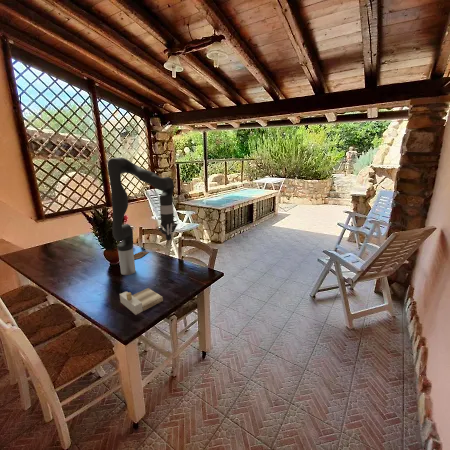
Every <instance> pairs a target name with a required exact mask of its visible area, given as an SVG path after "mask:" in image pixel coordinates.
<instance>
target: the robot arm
mask: <svg viewBox="0 0 450 450" xmlns="http://www.w3.org/2000/svg"><path fill="white" fill-rule="evenodd" d="M107 172H108V177H109V183H110V193H111V207H112V227H111V228H112V236H113V239H114V240H115V241H117V242H119V244H117V253H118V258H119V259H118V260H119V261H118V262H119V263H120V264H119V266H120V274H121V275H123V276H131V275H133V274H135V273H136V264H135V263H136V262H135V259H134V255H135V253H134V234H133V228H132V226H131V225H130V224H128V223H124V224H123V219H124V216H125V215H126V212H127V210H128V207H129V196H128V193H127V191H126V190H125V188H124V186H123V184H122V183H123V182H122V177H121V176H122V175H121V174H125V173H126V174H129V175H132V176H135V178H137V179H139V180H140V181H141V182H143V183H145V184H148V185H151V186H152V187H153V188H155V189H157V190H158V191H162V193H161V194H160V196H159V205H160V206H159V213H160V220H161V221H160V225H159V226H158V227H157V229H158V230H159V232H161V234H163V235H165V239H166V240H167V241H171V239H172V234H173V233H174V232H175V230H176V229H177V227H178V223H177V222H175V216H174V215H175V214H174V205H173V204H174V202H173V196H174V195H173V194H174V190H175V183H174V180H173V179H172V177H169V176H165V177H160V176H159V175H158V174H157V173H155V172H154V171H152V170H151V171H150V170H148V169H146V168H143V167H141V166H139V165H137V164H135V163H134V162H131V161H130V160H129V159H127V158H125V157H111V158H110V159H108V161H107ZM120 241H121V242H120Z"/></svg>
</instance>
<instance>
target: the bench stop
mask: <svg viewBox="0 0 450 450" xmlns="http://www.w3.org/2000/svg"><path fill="white" fill-rule="evenodd" d="M132 295H133V294H132V292H128V291H124V292H122V293H119V299H120V300H119V301H120V303H121V304H122V305H123V306H124V307H125V308H127V309H128V310H129V311H130V312H131V313H133V314H134V315H135V316H137V315H139V314H140V313H143V312H144V311H143V308H142V302H140V301H139V300H138V299H136V298H135V297H134V296H132Z"/></svg>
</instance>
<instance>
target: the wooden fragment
mask: <svg viewBox="0 0 450 450" xmlns="http://www.w3.org/2000/svg"><path fill="white" fill-rule="evenodd" d="M147 254H149V251H139V252H137V253H134V260H137V259H142V258H143V257H144V256H146V255H147ZM119 265H120V262H119Z"/></svg>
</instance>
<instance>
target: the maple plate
mask: <svg viewBox="0 0 450 450" xmlns="http://www.w3.org/2000/svg"><path fill="white" fill-rule="evenodd" d="M131 295H132V296H134V297H135V298H136V299H138V300H139V301H140V302H142V308H143V311H142V312H144V311H146V310H149V309H150V308H152V307H154V306H156V305H157V304H160V303H161V302H164V298H163V296H162V295H160V294H159V293H157V292H155V291H154V290H152V289H151V288H149V287H147V288H145V289H143V290H140V291H138V292H136V293H134V294H131Z"/></svg>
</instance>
